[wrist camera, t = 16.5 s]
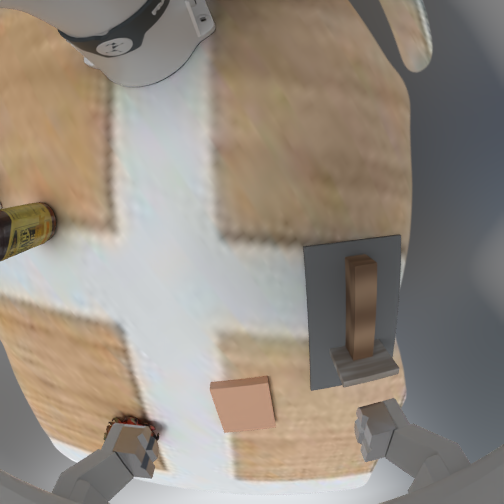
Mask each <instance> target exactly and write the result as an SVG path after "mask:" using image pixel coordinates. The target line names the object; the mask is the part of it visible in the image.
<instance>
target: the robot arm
mask: <svg viewBox="0 0 504 504" xmlns="http://www.w3.org/2000/svg"><path fill="white" fill-rule="evenodd" d="M0 8H7V9H15V10H19V11H23V12H26V13H28V14H30V15H32V16H35V17H37V18H39V19H41V20H43V21H45V22H47V23H48V24H50V25H52V26H54V27H55V28H57V29H58V32H59V33H60V35H61V36H62V37H63V38H64V39H66V41H67V42H69V43H70V44H71V45H72V46H73V47H74V48H75V49H76V50H78V51H79V52H80V53H81V54H82V55H83V56H84V62H85V63H86V64H87V65H88V66H89V67H92V68H95V69H99V70H101V71H102V72H103V73H104V74H105V75H106V76H107V77H108V78H109V79H110V80H111V81H113V82H114V83H116V84H119V85H122V86H127V87H140V86H146V85H150V84H153V83H156V82H158V81H160V80H162V79H164V78H166V77H168V76H169V75H171V74H172V73H174V72H175V71H176V70H178V69H179V68H180V67H181V66H182V65H183V64H184V63H185V62H186V61H187V59H188V58H189V57H190V55H191V54H192V52H193V51H194V49H195V47H196V46H197V45H198V44H199V42H201V41H202V40H204V39H205V38H206V37H208V36H209V35H210V34H211V33H213V31H214V30H215V23H214V20H213V18H212V16H211V13H210V11H209V8H208V6H207V3H206V1H205V0H0ZM203 19H206V21H204V22H201V20H203ZM356 415H357V417H358V419H357V420H356V421H355V435H356V439H357V442H358V443H360V444H362V446H361V453H362V455H363V458H364V461H365V462H368V461H372V460H376V459H380V458H383V457H386V459H388V460H389V461H390V462H392V463H393V464H395V465H396V466H398V467H399V468H400V469H402V470H403V471H405V472H406V473H408V474H409V475H411V476H412V477H414V478H415V479H414V481H413V483H412V485H411V486H410V488H409V489H408V494H406V495H403V496H400V497H398V498H395V499H392V500H389V501H386V502H383V503H380V504H504V444H503V445H502V446H500V447H499V448H497V449H496V450H494V451H492V452H491V453H489V454H488V455H486V456H484V457H483V458H481V459H479V460H478V461H476V462H474V463H473V464H470V462H469V460H468V459H467V457H466V456H465V454H464V452H463V451H462V449H461V448H460V446H459V445H458V443H455V442H453V441H451V440H448V439H446V438H444V437H441V436H439V435H437V434H435V433H433V432H430V431H428V430H426V429H424V428H422V427H420V426H417V425H415V424H411V425H410V423H409V422H408V420H407V418H406V416H405V415H404V413H403V411H402V410H401V408H400V406H399V404H398V403H397V401H396V399H394V398H392V399H389V400H385V401H382V402H378V403H374V404H370V405H367V406H363V407H359V408H358V409H357V412H356ZM151 433H152V431H151V430H150V428H149V427H148V426H139V425H129V424H120V423H114V424H113V425H112V427H111V429H110V431H109V433H108V436H107V438H106V440H105V442H104V444H103V446H102V449H101V450H100V449H98V450H96V451H95V452H93V453H92V454H90V455H89V456H87V457H86V458H84V459H83V460H81V461H80V462H78V463H76V464H75V465H73V466H72V467H70V468H69V469H67V470H65V471H64V472H62V473H61V475H60V477H59V479H58V481H57V483H56V485H55V487H54V489H53V491H52V493H50V492H47V491H45V490H42V489H40V488H38V487H35V486H33V485H31V484H29V483H27V482H25V481H22V480H20V479H18V478H16V477H14V476H12V475H10V474H8V473H6V472H5V471H3V470H1V469H0V504H110V503H109V502H108V501H109V500H111V499H112V498H113V497H114V496H115V495H116V494H117V493H118V492H119V491H120V490H121V489H122V488H123V487H124V486H125V485H126V484H127V483H128V482H130V481H131V480H132V479H133V478H134V477H142V478H152V477H153V473H154V469H155V465H154V464H153V462H154V461H155V460H156V459H157V458H158V454H159V447H158V443H157V441H156V439H155V438H154V437H152V436H151Z"/></svg>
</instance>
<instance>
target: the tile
mask: <svg viewBox="0 0 504 504" xmlns="http://www.w3.org/2000/svg"><path fill="white" fill-rule="evenodd" d="M210 392H211V395H212V398H213V401H214V404H215V407H216V410H217V413H218V415H219V418H220V421H221V424H222V427H223V429H224V432H225V433H226V432H239V431H249V430H259V429H267V428H274V427H276V424H275V417H274V411H273V405H272V400H271V394H270V388H269V383H268V377H267V376H262V377H254V378H246V379H238V380H228V381H218V382H211V384H210Z"/></svg>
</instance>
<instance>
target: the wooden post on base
mask: <svg viewBox="0 0 504 504" xmlns="http://www.w3.org/2000/svg"><path fill="white" fill-rule="evenodd" d="M345 280H346V340H345V346H342V347H337V348H331V349H329V354H330V357H331V359H332V361H333V364H334V366H335V368H336V371H337V373H338V376H339V378H340V380H341V383H342V385H343V387H348V386H352V385H357V384H361V383H365V382H369V381H373V380H377V379H381V378H385V377H388V376H392V375H396V374H398V373H399V367H398V366H397V364H396V363H395V361H394V360H393V358H392V357H391V356H390V354H389V353H388V351H387V350H386V349H385V347H384V346H383V344H382V343H381V342H380V340H379V339H375V340H374V336H375V321H376V301H377V262H375V261H374V260H373V259H371V258H370V257H369V256H367V255H366V254H362V255H355V256H348V257H345Z"/></svg>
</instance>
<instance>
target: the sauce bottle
mask: <svg viewBox="0 0 504 504" xmlns="http://www.w3.org/2000/svg"><path fill="white" fill-rule="evenodd" d="M55 227H56V219H55V216H54V213H53V211H52V209H51V208H50V207H49V206H48V205H46V204H44V203H40V202H39V203H31V204H26V205H21V206H15V207H10V208H5V209H0V261H3V260H5V259H8V258H9V257H12V256H14V255H17V254H19V253H21V252H24V251H26V250H28V249H31V248H33V247H36V246H38V245H41V244H43V243H45V242H46V241H47V240H49V239H50V238H51V237H52V236H53V234H54V231H55Z"/></svg>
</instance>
